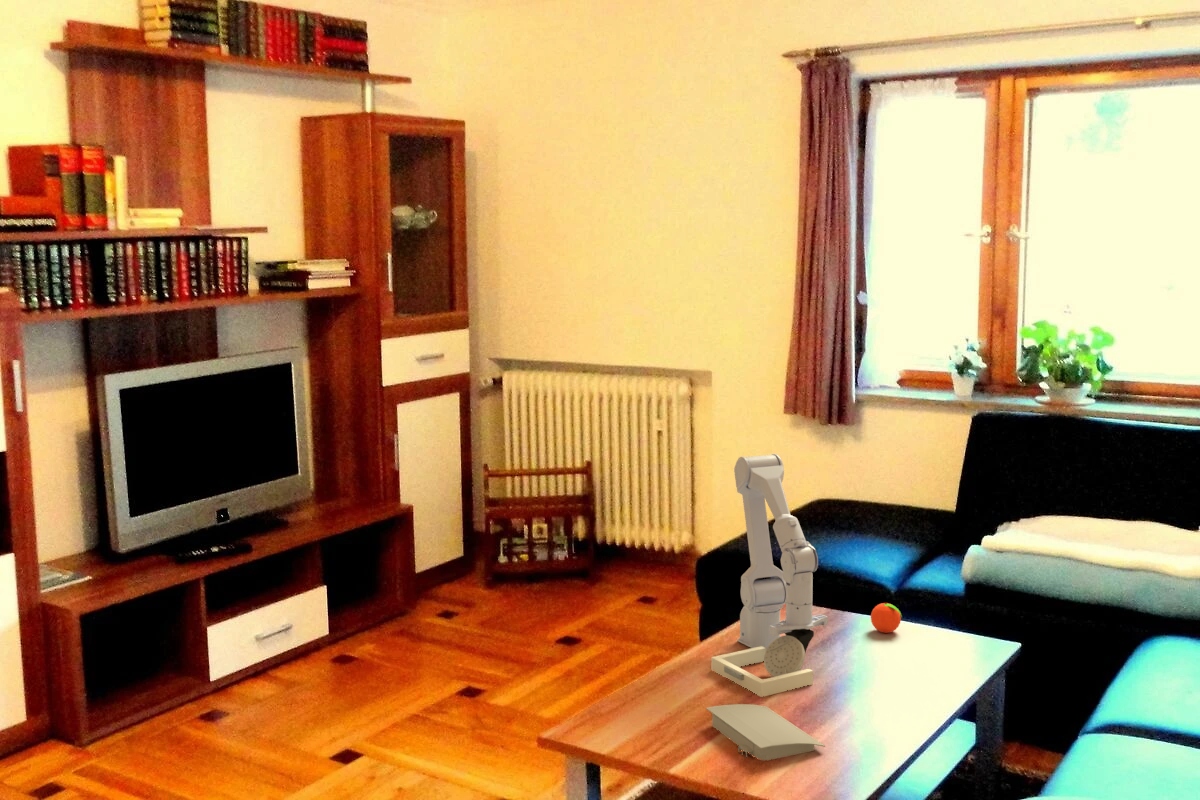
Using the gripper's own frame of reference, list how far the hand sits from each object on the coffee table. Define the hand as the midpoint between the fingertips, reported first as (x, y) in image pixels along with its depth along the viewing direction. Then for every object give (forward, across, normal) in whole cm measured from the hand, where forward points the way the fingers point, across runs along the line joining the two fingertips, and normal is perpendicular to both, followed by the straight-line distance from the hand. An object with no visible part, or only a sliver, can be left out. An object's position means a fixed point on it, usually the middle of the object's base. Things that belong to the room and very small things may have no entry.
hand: (798, 661), depth 267 cm
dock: (+2, -10, 0) cm, 10 cm away
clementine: (+2, +33, +8) cm, 34 cm away
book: (+2, -29, -25) cm, 39 cm away
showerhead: (+1, -1, -1) cm, 2 cm away
